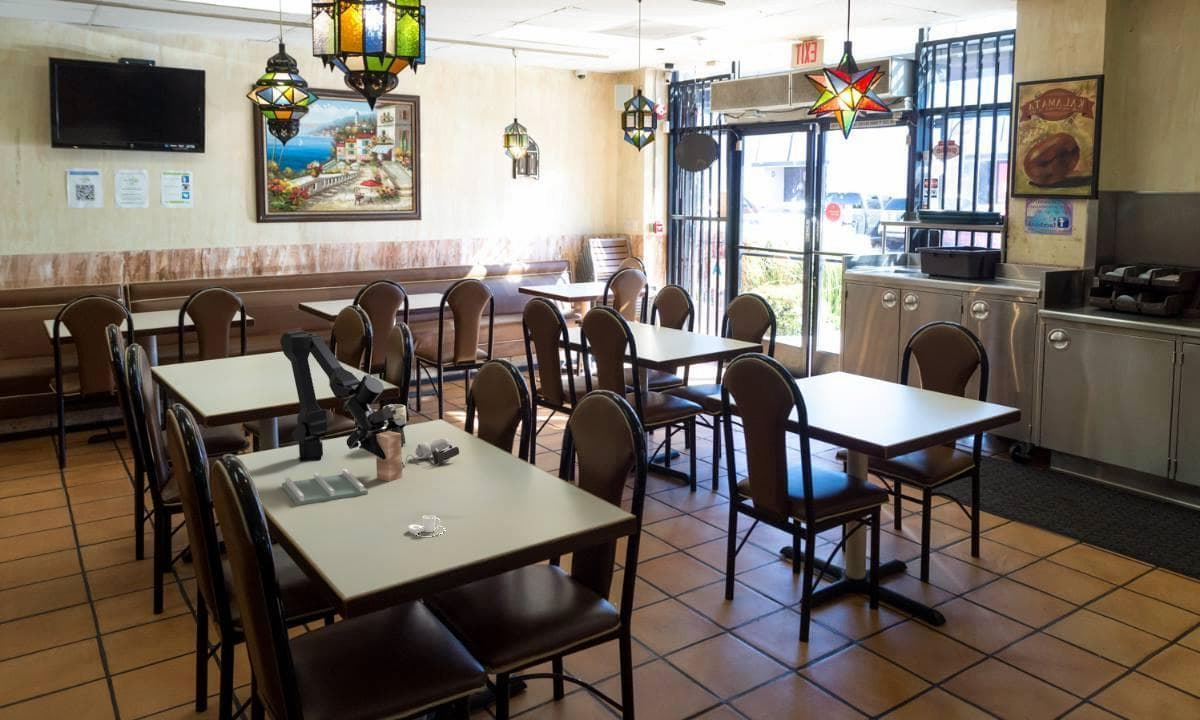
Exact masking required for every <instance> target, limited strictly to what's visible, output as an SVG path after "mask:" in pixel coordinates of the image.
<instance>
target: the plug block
mask: <svg viewBox="0 0 1200 720" xmlns="http://www.w3.org/2000/svg"><path fill="white" fill-rule="evenodd" d="M376 439H377V442H378V444H379V446H380V447H381V449H382V450H383V452H384V454H385V456H386V459H385V460H383V459H381V458H380V457H378V456H376V455H375V456H376V457H375V461H376V479H379V480H382V481H386V482H392V481H395V480H399V479H401V478H403V466H402V462H403V461H402V445H401V433H396V432H391V431H387V432H383V433H379V434H376Z"/></svg>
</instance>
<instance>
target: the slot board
mask: <svg viewBox="0 0 1200 720" xmlns="http://www.w3.org/2000/svg"><path fill="white" fill-rule="evenodd" d="M341 472H342V474H341V473H340V474H335V475H333V474H332V475H328V476H322V475H320V474H319V472H314V473H313V475H314V476H313V478H306V479H301V480H294V481H293V480H292V479H291V477H289V476H287V477H284V480H285V481H284V482H282V483H281V487H282V489H283V490H284V491H285V492H286V494H287V495H288V497H289V498H290V499H291V500H292V501H293V502H294V504H295V505H296V506H301V505H307V504H312V503H313V504H314V503H319V502H320V503H321V502H327V501H331V500H337V499H338V500H339V499H344V498H350V497H357V496H363V495H368V494H369V491H368V489H367V488H366V487H365V485H364V484H363V483H362V482H360V480H359V479H358V478H356V477H355V476H354V475H353V474H352V473H351V472H350V471H349V470H348V469H347V468H342V471H341Z"/></svg>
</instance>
